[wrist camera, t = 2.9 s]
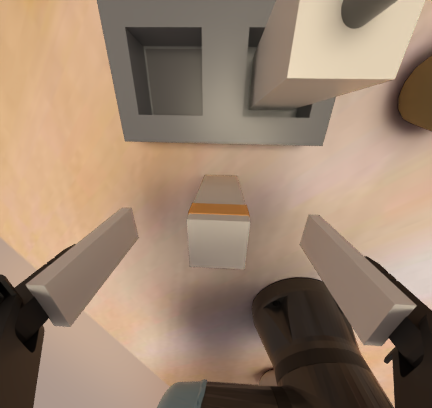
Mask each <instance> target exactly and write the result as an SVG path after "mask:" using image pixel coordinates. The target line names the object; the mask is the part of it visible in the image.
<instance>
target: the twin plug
mask: <svg viewBox="0 0 432 408" xmlns="http://www.w3.org/2000/svg"><path fill="white" fill-rule="evenodd" d="M424 3H425V0H276V2H275V5H274V7H273V10H272V12H271V15H270V17H269V19H268V22H267V24H266V27H265V29H264V32H263V34H262V37H261V39H260V42H259V44H258V47H257V49H256V52H255V54H254V57H253V61H252V72H251V83H250V95H249V106H248V110H284V111H289V110H292V109H296V108H299V107H303V106H306V105H309V104H313V103H316V102H320V101H323V100H326V99H330V98H333V97H337V96H340V95H343V94H347V93H350V92H353V91H357V90H360V89H364V88H367V87H370V86H374V85H377V84H381V83H384V82H387V81H391V80H394V79H395V78H396V75H397V72H398V70H399V67H400V65H401V62H402V59H403V57H404V54H405V52H406V49H407V47H408V44H409V41H410V39H411V36H412V34H413V31H414V29H415V26H416V23H417V21H418V18H419V16H420V13H421V10H422V8H423V5H424Z"/></svg>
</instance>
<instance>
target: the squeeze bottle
mask: <svg viewBox="0 0 432 408" xmlns="http://www.w3.org/2000/svg"><path fill="white" fill-rule="evenodd" d="M398 110H399V112H400V114H401V116H402V118H403V119H404V120H406V121H408V122H410V123H411V124H414V125H417V126H419V127H422V128H424V129H427V130H430V131H432V56H430V57H429V58H428V59H426V60H425V61H424V62H423V63H421V64H420V65H419V66H418V67H416V68H415V69H414V71H413V72H412V73H411V75H410V76H409V77H408V79H407V80H406V81H405V83H404V85H403V88H402V90H401V93H400V95H399V105H398Z"/></svg>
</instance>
